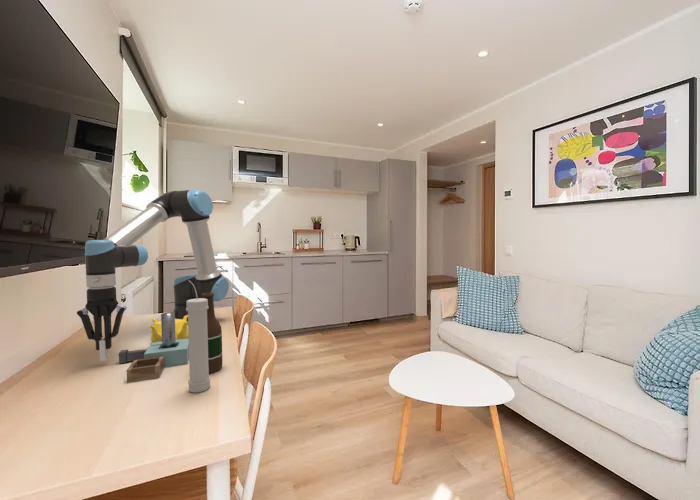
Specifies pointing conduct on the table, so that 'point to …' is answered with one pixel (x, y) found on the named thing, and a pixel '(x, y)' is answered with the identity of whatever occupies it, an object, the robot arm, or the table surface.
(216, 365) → the beer bottle
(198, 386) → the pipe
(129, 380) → the brown wooden tray
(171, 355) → the chuck block
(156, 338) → the teapot
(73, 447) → the table surface
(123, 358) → the block
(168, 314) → the cylinder
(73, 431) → the table surface
